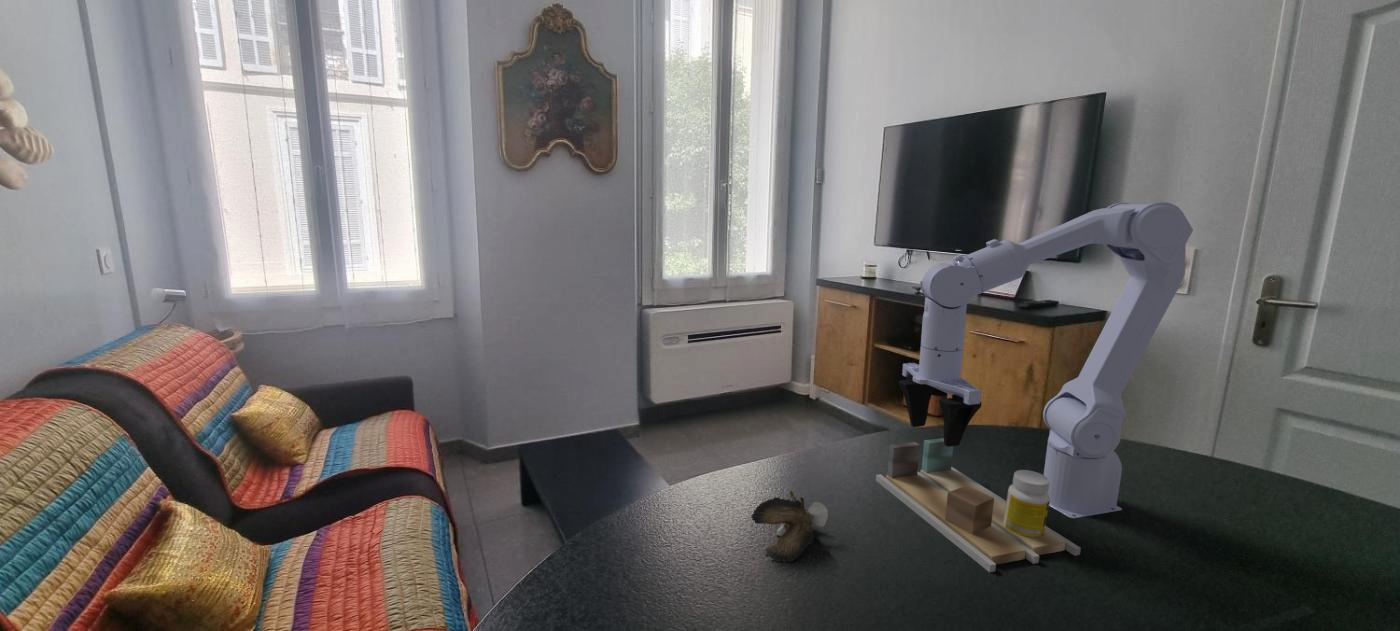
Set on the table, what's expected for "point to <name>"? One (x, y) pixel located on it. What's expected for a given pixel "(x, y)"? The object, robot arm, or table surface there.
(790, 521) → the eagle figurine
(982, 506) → the walnut cube
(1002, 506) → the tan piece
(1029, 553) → the lane board
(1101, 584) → the table surface
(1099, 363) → the robot arm
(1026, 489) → the supplement bottle
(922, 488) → the gray handled wooden slider
